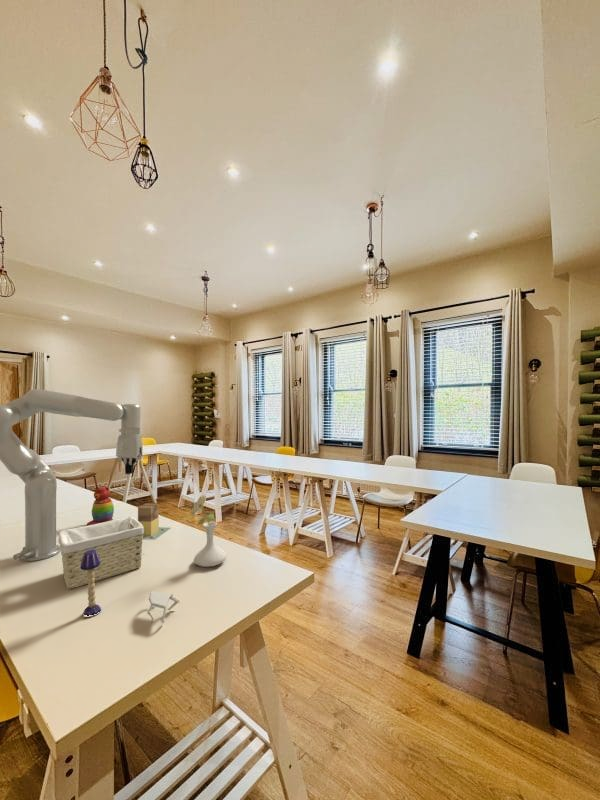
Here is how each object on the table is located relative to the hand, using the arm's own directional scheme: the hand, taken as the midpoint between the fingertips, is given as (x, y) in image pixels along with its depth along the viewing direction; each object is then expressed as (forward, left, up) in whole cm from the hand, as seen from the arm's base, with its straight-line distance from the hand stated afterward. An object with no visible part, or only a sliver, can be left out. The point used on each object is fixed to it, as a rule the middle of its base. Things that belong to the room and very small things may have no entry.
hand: (129, 473), depth 149 cm
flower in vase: (-23, -45, -27) cm, 58 cm away
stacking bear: (+13, +23, -28) cm, 38 cm away
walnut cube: (+1, -8, -20) cm, 22 cm away
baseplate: (+1, -8, -27) cm, 28 cm away
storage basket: (-31, -11, -28) cm, 43 cm away
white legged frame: (-53, -43, -28) cm, 74 cm away
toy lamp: (-54, -24, -27) cm, 65 cm away
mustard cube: (+1, -8, -26) cm, 28 cm away
